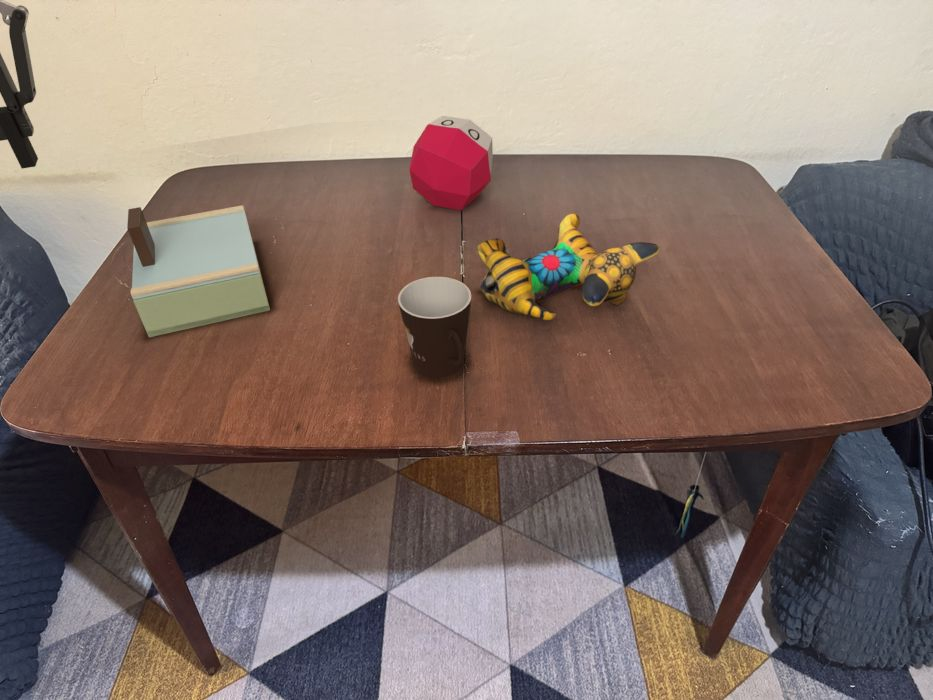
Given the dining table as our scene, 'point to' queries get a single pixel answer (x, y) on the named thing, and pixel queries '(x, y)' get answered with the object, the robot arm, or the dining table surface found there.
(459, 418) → the dining table surface
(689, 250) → the dining table surface
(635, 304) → the dining table surface
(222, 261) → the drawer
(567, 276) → the dog figurine
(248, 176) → the dining table surface
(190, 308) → the green open storage box
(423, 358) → the coffee mug
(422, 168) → the decorative object
